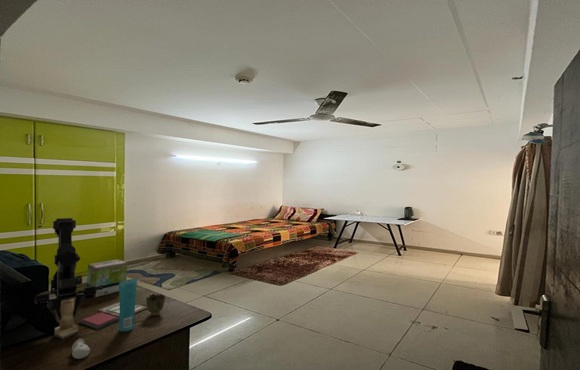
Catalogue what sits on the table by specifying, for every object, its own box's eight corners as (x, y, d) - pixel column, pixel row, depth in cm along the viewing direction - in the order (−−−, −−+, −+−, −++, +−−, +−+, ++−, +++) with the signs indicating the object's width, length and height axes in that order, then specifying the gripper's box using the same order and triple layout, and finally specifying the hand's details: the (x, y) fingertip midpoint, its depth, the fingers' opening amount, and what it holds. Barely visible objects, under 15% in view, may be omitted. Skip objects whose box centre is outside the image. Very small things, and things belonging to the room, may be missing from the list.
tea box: (95, 298, 144) (96, 267, 144) (85, 293, 150) (86, 263, 150) (126, 289, 157) (127, 261, 157) (116, 285, 162) (117, 258, 162)
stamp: (54, 335, 109) (56, 301, 109) (69, 329, 114) (70, 297, 114) (63, 339, 107) (64, 304, 107) (77, 333, 112) (79, 299, 112)
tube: (130, 323, 121) (132, 276, 121) (139, 326, 119) (141, 278, 119) (113, 331, 114) (115, 281, 114) (122, 334, 112) (124, 283, 112)
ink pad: (79, 323, 119) (79, 319, 119) (101, 314, 127) (101, 311, 127) (97, 329, 115) (97, 326, 115) (119, 320, 123) (119, 316, 123)
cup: (157, 319, 125) (157, 300, 125) (141, 317, 127) (142, 298, 127) (167, 312, 132) (168, 294, 132) (153, 310, 134) (153, 292, 134)
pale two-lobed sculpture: (88, 362, 97) (69, 362, 94) (86, 350, 103) (69, 349, 100) (93, 348, 97) (75, 348, 94) (92, 337, 104) (75, 336, 101)
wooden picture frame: (97, 311, 131) (97, 309, 131) (122, 301, 142) (122, 300, 142) (123, 319, 124) (123, 317, 124) (147, 308, 135) (147, 306, 135)
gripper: (35, 272, 107) (34, 314, 99) (97, 265, 119) (100, 302, 111) (35, 288, 113) (33, 328, 105) (93, 279, 125) (96, 315, 117)
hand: (67, 318), depth 109 cm, fingers closed on stamp, 4 cm apart
